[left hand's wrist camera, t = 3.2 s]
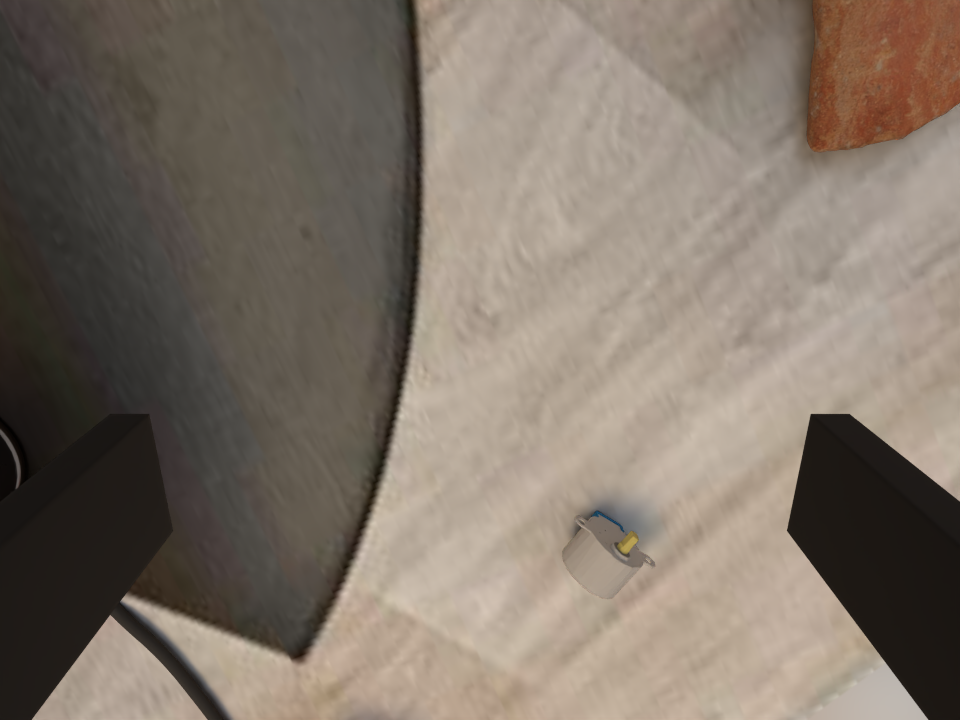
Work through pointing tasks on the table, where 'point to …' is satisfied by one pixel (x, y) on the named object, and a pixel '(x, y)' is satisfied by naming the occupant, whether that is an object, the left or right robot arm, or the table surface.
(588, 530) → the electric motor
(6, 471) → the right robot arm
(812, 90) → the ceramic shard
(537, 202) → the table surface
